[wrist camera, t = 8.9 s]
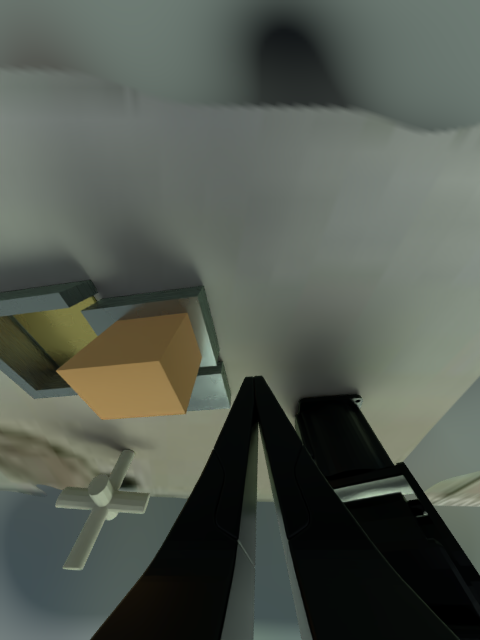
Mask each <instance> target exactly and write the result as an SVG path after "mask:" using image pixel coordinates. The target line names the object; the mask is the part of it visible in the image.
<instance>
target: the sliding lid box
mask: <svg viewBox="0 0 480 640" xmlns="http://www.w3.org/2000/svg"><path fill="white" fill-rule="evenodd" d="M97 293H98V292H97V290H96V289H95V287H94V285H93V284H92V282H91V280H87V281H79V282H72V283H65V284H58V285H51V286H44V287H37V288H29V289H22V290H15V291H8V292H1V293H0V370H1V371H2V372H3V373H5V374H6V375H7V376H8V377H9V378H10V379H12V380H13V381H14V382H15V383H16V384H18V385H19V386H20V387H21V388H22V389H23V390H25V391H26V392H27V393H28V394H29V395H30V396H32V397H33V398H34V399H36V398H48V397H60V396H72V395H78V394H77V393H76V392H75V391H74V390H73V389H72V388H71V386H70V385H69V384H68V383H67V382H66V381H65V380H64V379H63V378H62V377H61V376H60V375H59V374H58V373H57V372H56V370H57V369H58V368H60V367H61V366H62V365H63V364H64V363H66V362H67V361H68V360H69V359H71V358H72V357H73V356H74V355H76V354H77V353H78V352H79V351H80V350H82V349H83V348H84V347H85V346H87V345H88V344H89V343H90V342H91V341H93V340H94V339H95V338H96V337H98V336H99V335H100V334H101V333H102V332H104V331H105V330H106V329H107V328H109V327H110V326H111V325H112V324H114V323H115V322H116V321H119V320H128V319H137V318H145V317H154V316H162V315H171V314H180V313H188V316H189V319H190V322H191V325H192V328H193V331H194V334H195V337H196V341H197V344H198V347H199V350H200V353H201V356H202V360H201V363H200V367H206V366H217V361H218V355H219V345H218V341H217V337H216V333H215V329H214V325H213V321H212V317H211V314H210V310H209V306H208V302H207V298H206V294H205V290H204V286H198V287H190V288H183V289H175V290H167V291H159V292H152V293H144V294H136V295H129V296H121V297H113V298H105V299H101V300H99V301H96V300H95V298H94V296H93V295H95V294H97Z"/></svg>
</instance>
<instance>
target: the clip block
mask: <svg viewBox="0 0 480 640" xmlns="http://www.w3.org/2000/svg"><path fill="white" fill-rule="evenodd" d="M201 360H202V356H201V353H200V350H199V347H198V344H197V341H196V337H195V334H194V331H193V328H192V325H191V322H190V319H189V316H188V313H180V314H171V315H162V316H154V317H145V318H137V319H128V320H119V321H116V322H115V323H114V324H112V325H111V326H110V327H109V328H107V329H106V330H105V331H104V332H102V333H101V334H100V335H99V336H98V337H96V338H95V339H94V340H93V341H91V342H90V343H89V344H88V345H87V346H85V347H84V348H83V349H82V350H80V351H79V352H78V353H77V354H76V355H74V356H73V357H72V358H71V359H69V360H68V361H67V362H66V363H64V364H63V365H62V366H61V367H60V368H58V369H57V370H56V372H57V373H58V374H59V375H60V376H61V377H62V378H63V379H64V380H65V381H66V382H67V383H68V384H69V385H70V386H71V388H72V389H73V390H74V391H75V392H76V393H77V394H78V395H79V396H80V397H81V398H82V399H83V400H84V401H85V402H86V403H87V404H88V406H89V407H90V408H91V409H92V410H93V411H94V412H95V413H96V414H97V415H98V416H99V417H100V418H101V419H102V420H106V419H121V418H135V417H150V416H165V415H179V414H186V411H187V408H188V405H189V401H190V398H191V394H192V391H193V387H194V384H195V380H196V377H197V373H198V370H199V367H200V363H201Z"/></svg>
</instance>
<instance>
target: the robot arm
mask: <svg viewBox="0 0 480 640" xmlns="http://www.w3.org/2000/svg"><path fill="white" fill-rule="evenodd" d="M362 402H363V399H362V397H361V396H360V395H347V396H333V397H320V398H306V399H301V400H299V407H298V414H297V415H296V416H295V429H296V431H295V429H294V427H293V426H292V424H291V423H290V421H289V419H288V418H287V416H286V414H285V413H284V411H283V409H282V408H281V406H280V404H279V403H278V401H277V399H276V398H275V396H274V394H273V393H272V391H271V389H270V388H269V386H268V384H267V383H266V381H265V379H264V378H263V376H255V377H252V376H251V377H245V379H244V381H243V383H242V385H241V387H240V390H239V392H238V394H237V396H236V399H235V401H234V403H233V405H232V408H231V410H230V412H229V414H228V417H227V419H226V421H225V423H224V426H223V428H222V430H221V432H220V435H219V437H218V439H217V441H216V444H215V446H214V449H213V450H212V452H211V455H210V457H209V459H208V461H207V463H206V465H205V467H204V470H203V472H202V474H201V476H200V478H199V480H198V482H197V483H196V485H195V487H194V489H193V491H192V493H191V495H190V496H189V498H188V500H187V502H186V503H185V505H184V507H183V509H182V511H181V512H180V514H179V516H178V518H177V519H176V521H175V523H174V525H173V527H172V528H171V530H170V532H169V534H168V536H167V537H166V539H165V541H164V543H163V544H162V546H161V548H160V550H159V551H158V553H157V554H156V556H155V557H154V559H153V560H152V562H151V563H150V565H149V566H148V568H147V569H146V571H145V572H144V573H143V575H142V576H141V577H140V579H139V580H138V581H137V582H136V584H135V585H134V586H133V587H132V589H131V590H130V591H129V592H128V593H127V595H126V596H125V597H124V599H123V600H122V601H121V602H120V603H119V605H118V606H117V607H116V609H115V610H114V611H113V612H112V613H111V615H110V616H109V617H108V618H107V619H106V621H105V622H104V623H103V624H102V626H101V627H100V628H99V629H98V630H97V632H96V633H95V634H94V635H93V637H92V638H91V639H90V640H253V631H254V629H253V628H254V590H255V586H254V585H255V568H254V567H255V547H256V545H255V544H256V505H257V464H258V423H259V429H260V434H261V439H262V444H263V449H264V454H265V459H266V464H267V469H268V474H269V479H270V484H271V489H272V494H273V499H274V504H275V508H276V514H277V519H278V524H279V528H280V534H281V539H282V543H283V549H284V554H285V559H286V564H287V567H288V573H289V579H290V584H291V588H292V594H293V599H294V604H295V608H296V614H297V619H298V624H299V628H300V633H301V638H302V640H480V575H479V574H478V572H477V571H476V569H475V568H474V566H473V565H472V563H471V562H470V560H469V559H468V557H467V556H466V554H465V553H464V551H463V550H462V548H461V547H460V545H459V544H458V542H457V541H456V539H455V538H454V536H453V535H452V533H451V532H450V530H449V529H448V527H447V526H446V524H445V523H444V521H443V520H442V518H441V517H440V515H439V514H438V513H437V511H436V510H435V508H434V507H433V505H432V503H431V502H430V501H429V499H428V498H427V496H426V495H425V493H424V492H423V490H422V489H421V487H420V486H419V484H418V483H417V481H416V480H415V478H414V477H413V475H412V474H411V472H410V471H409V469H408V468H407V466H406V465H405V463H404V462H400V463H396V464H397V465H394V464H393V463H392V461H391V459H390V458H389V456H388V454H387V453H386V451H385V449H384V448H383V446H382V445H381V443H380V441H379V440H378V438H377V436H376V435H375V433H374V432H373V430H372V428H371V427H370V425H369V423H368V422H367V420H366V419H365V417H364V415H363V414H362V412H361V410H360V408H361V405H362ZM412 493H414V494H415V495H416V496H417V498H418V499H415V500H409V501H407V500H406V499H405V497H404V495H406V494H412Z"/></svg>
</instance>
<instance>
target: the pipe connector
mask: <svg viewBox="0 0 480 640" xmlns="http://www.w3.org/2000/svg"><path fill="white" fill-rule="evenodd" d="M134 455H135V452H133V451H131V450H123V451H122V453H121V455H120V457H119V459H118V461H117V463H116V465H115V467H114V469H113V471H112V473H111V475H110V476H109V478H108V476H107V475H105V474H101V475H98V476H97V477H95V478H94V479H93V480H92V481H91V482H90V484H89V487H88V488H78V487H66V488H65V489H64V490H63V491H62V493H61V494H60V496H59V497H58V499H57V502H56V504H55V505H56V507H57V508H58V507H59V508H71V509H84V510H92V512H91V513H90V515H89V517H88V519H87V521H86V523H85V525H84V527H83V529H82V531H81V533H80V535H79V537H78V539H77V541H76V543H75V545H74V546H73V548H72V550H71V552H70V554H69V556H68V558H67V560H66V562H65V564H64V566H63V568H64V569H71V570H82V569H83V567H84V565H85V563H86V560H87V558H88V556H89V554H90V552H91V549H92V547H93V545H94V543H95V541H96V538H97V536H98V534H99V532H100V530H101V527H102V525H103V523H104V521H105V519H107V520H112V519H113V518H115V517H116V516H117V514H118V513H119V512H126V513H138V514H144V512H145V510H146V507H147V504H148V501H149V497H150V494H149V493H137V492H125V491H118V490H119V488H120V486H121V484H122V481H123V479H124V477H125V475H126V473H127V470H128V468H129V466H130V464H131V462H132V459H133V457H134Z"/></svg>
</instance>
